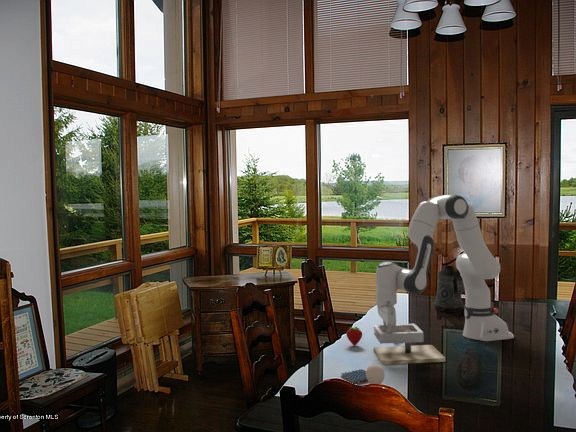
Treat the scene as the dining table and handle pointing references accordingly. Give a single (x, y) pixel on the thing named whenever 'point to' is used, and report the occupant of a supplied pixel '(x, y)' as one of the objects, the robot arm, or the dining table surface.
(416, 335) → the steel link
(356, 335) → the strawberry
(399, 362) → the board
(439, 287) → the beer stein
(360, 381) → the woven mat
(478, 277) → the robot arm
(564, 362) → the dining table surface
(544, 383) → the dining table surface
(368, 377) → the light bulb
